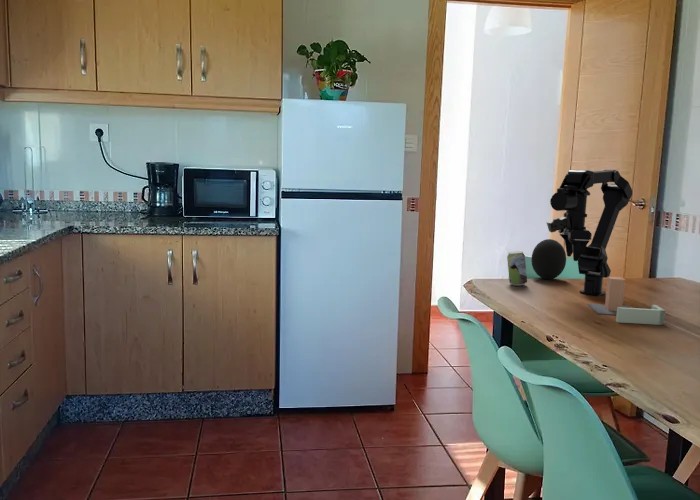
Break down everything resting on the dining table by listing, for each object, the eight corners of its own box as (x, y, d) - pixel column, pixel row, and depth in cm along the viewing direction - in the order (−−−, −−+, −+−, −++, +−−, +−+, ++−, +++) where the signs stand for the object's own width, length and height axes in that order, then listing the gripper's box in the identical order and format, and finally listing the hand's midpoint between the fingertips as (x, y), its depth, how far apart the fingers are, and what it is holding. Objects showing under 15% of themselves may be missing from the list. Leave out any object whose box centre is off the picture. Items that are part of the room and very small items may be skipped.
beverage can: (527, 287, 214) (530, 253, 212) (505, 286, 215) (508, 252, 213) (526, 284, 220) (528, 250, 218) (505, 282, 221) (507, 249, 220)
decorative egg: (530, 280, 226) (533, 240, 224) (529, 274, 238) (532, 236, 236) (565, 283, 223) (569, 242, 221) (563, 277, 235) (566, 238, 233)
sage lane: (610, 316, 177) (611, 302, 176) (654, 318, 175) (656, 304, 174) (617, 322, 170) (618, 308, 169) (663, 324, 168) (665, 310, 168)
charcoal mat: (587, 304, 190) (587, 303, 190) (628, 306, 189) (628, 305, 189) (597, 314, 178) (597, 313, 178) (641, 316, 177) (641, 315, 177)
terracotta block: (604, 307, 186) (607, 276, 184) (618, 308, 185) (621, 277, 184) (608, 310, 182) (610, 278, 181) (622, 311, 182) (625, 279, 180)
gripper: (544, 206, 204) (541, 253, 207) (555, 211, 186) (551, 262, 188) (579, 208, 203) (575, 254, 205) (594, 212, 185) (589, 264, 187)
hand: (572, 258), depth 196 cm, fingers open, 9 cm apart
